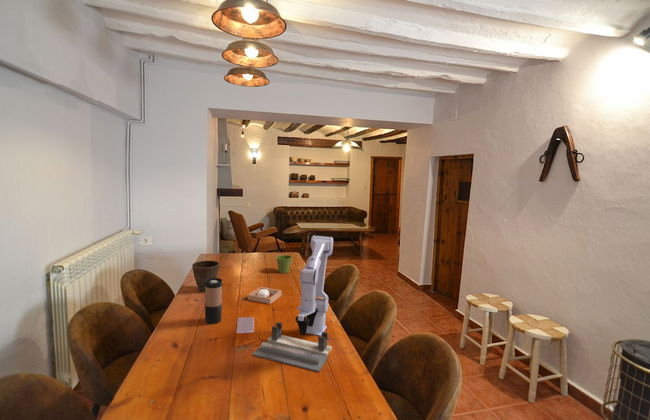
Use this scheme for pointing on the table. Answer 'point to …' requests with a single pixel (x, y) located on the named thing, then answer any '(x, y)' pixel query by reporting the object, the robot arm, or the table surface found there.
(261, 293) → the garlic
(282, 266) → the plant pot
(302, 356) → the rail
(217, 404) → the table surface
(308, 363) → the mat
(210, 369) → the table surface
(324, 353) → the hook stand
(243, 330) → the mobile phone
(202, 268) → the plant pot
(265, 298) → the garlic dish
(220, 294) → the travel mug
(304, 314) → the robot arm
